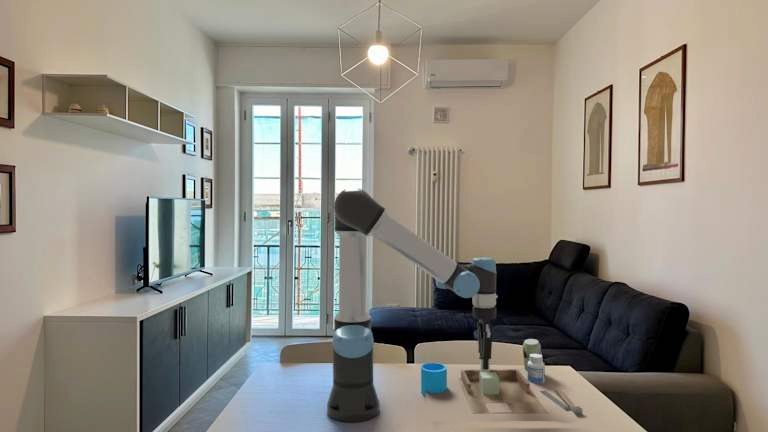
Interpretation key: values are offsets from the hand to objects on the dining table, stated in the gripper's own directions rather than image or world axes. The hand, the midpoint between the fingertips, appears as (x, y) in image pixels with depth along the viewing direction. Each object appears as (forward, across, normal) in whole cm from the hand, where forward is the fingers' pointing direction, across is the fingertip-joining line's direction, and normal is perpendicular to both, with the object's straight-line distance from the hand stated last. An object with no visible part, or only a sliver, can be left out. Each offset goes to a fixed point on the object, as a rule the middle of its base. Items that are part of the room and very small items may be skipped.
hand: (484, 377), depth 153 cm
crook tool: (+4, -14, -19) cm, 24 cm away
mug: (+3, -2, +17) cm, 17 cm away
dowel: (+4, -12, -22) cm, 25 cm away
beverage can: (+4, +12, -19) cm, 23 cm away
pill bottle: (+4, +2, -17) cm, 18 cm away
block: (+2, -7, 0) cm, 7 cm away
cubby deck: (+3, -9, -2) cm, 10 cm away
